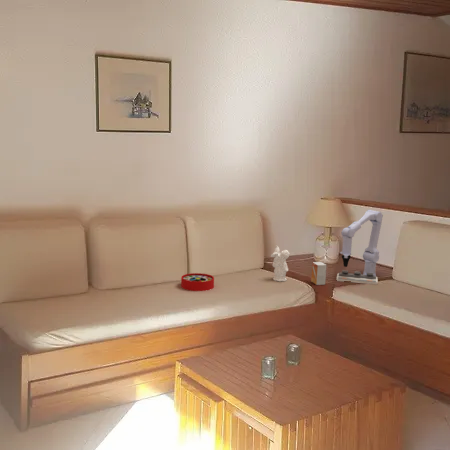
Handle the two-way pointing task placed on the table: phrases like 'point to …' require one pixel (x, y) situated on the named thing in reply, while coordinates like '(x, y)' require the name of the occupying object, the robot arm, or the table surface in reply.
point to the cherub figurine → (280, 264)
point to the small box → (318, 273)
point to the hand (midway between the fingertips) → (345, 266)
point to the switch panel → (357, 278)
